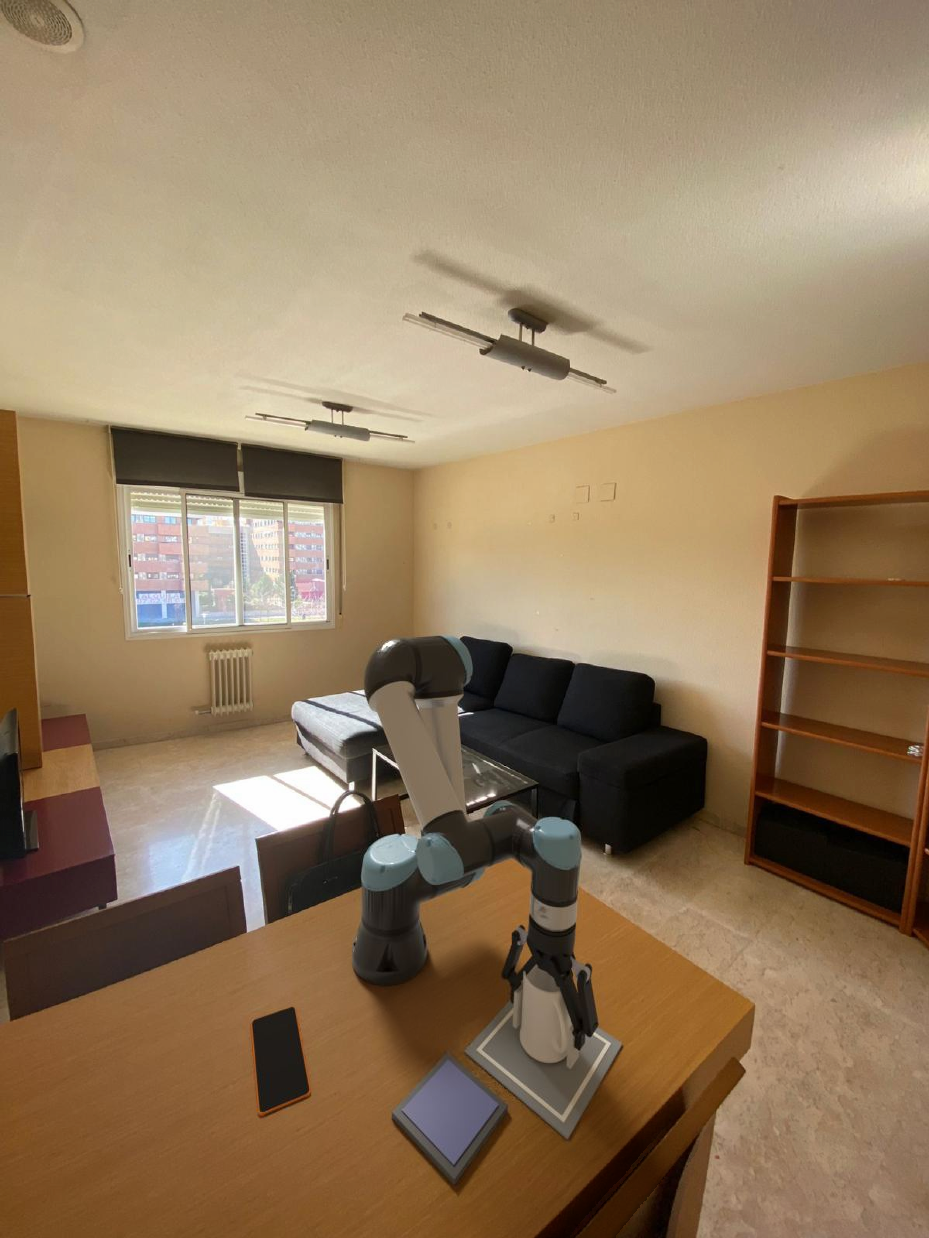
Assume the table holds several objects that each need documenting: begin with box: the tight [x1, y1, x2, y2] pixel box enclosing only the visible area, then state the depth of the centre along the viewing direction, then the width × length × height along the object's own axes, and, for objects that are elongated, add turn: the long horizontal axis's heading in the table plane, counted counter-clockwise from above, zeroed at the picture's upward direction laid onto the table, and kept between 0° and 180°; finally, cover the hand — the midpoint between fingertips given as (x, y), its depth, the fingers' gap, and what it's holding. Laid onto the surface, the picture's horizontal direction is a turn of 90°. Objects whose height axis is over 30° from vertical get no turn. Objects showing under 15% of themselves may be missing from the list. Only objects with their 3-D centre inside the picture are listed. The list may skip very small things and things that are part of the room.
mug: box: [520, 964, 570, 1063], centre depth 83 cm, size 12×8×12 cm
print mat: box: [463, 999, 623, 1141], centre depth 84 cm, size 19×19×1 cm
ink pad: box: [391, 1052, 509, 1186], centre depth 73 cm, size 12×12×1 cm
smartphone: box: [250, 1005, 312, 1118], centre depth 81 cm, size 8×17×1 cm, turn 27°
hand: (544, 1040), depth 84 cm, fingers open, 10 cm apart
